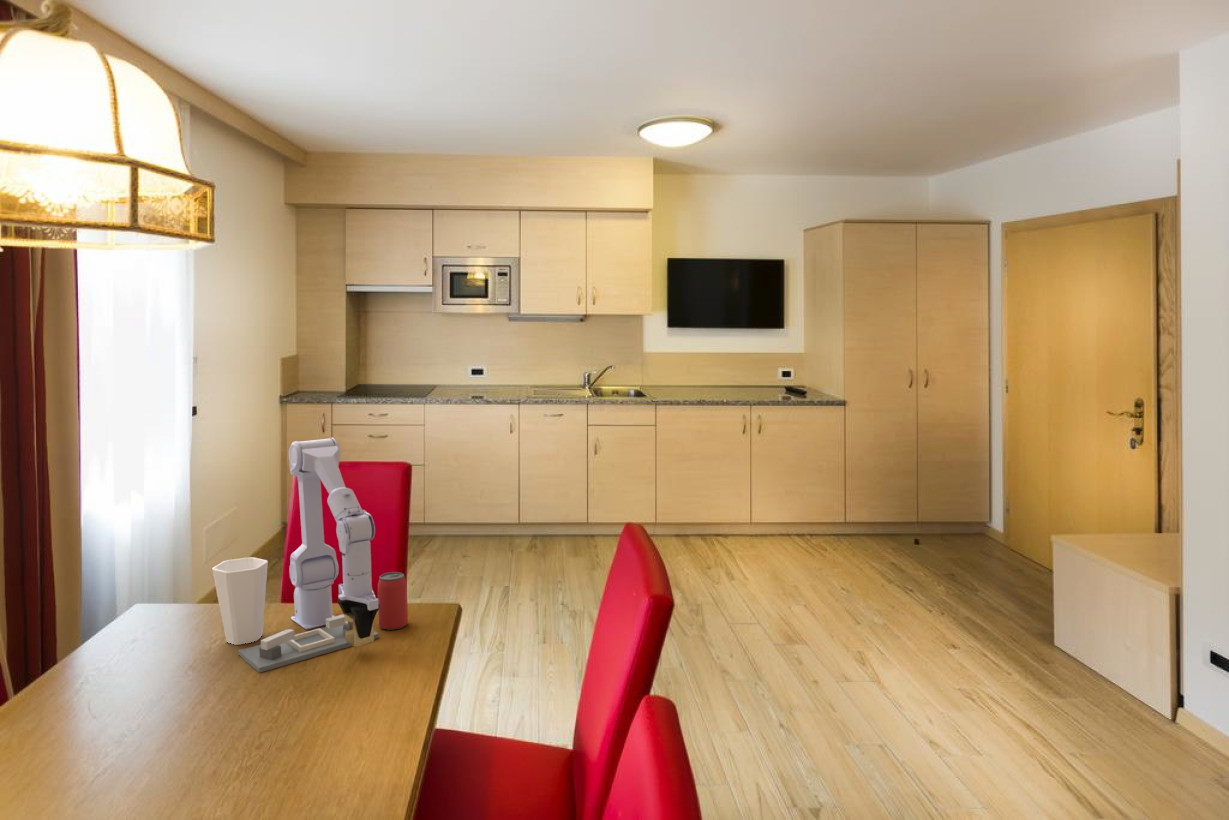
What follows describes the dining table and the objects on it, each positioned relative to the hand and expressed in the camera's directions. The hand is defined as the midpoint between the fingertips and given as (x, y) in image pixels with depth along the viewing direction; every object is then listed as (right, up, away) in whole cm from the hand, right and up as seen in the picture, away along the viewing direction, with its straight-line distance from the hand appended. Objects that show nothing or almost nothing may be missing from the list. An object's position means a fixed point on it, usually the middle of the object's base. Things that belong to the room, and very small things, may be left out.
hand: (359, 633), depth 170 cm
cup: (-29, -4, +9) cm, 30 cm away
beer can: (+3, -3, +17) cm, 17 cm away
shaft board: (-12, -4, +5) cm, 14 cm away
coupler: (0, -2, 0) cm, 2 cm away
